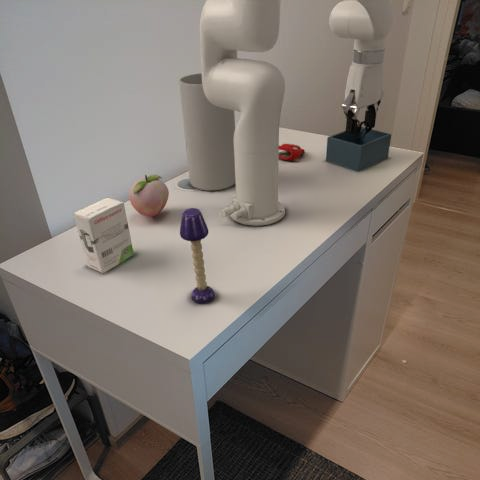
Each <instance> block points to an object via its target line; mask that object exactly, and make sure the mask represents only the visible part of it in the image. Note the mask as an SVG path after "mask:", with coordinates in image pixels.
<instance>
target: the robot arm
mask: <svg viewBox="0 0 480 480" xmlns="http://www.w3.org/2000/svg"><path fill="white" fill-rule="evenodd" d="M281 1H282V0H206V1H205V3H204V5H203V8H202V10H201V14H200V21H199V48H200V68H201V71H200V73H202V85H203V90H204V93H205V96H206V98H207V99H208V101H209V102H210V103H212V104H213V105H215V106H218V107H221V108H225V109H230V110H234V112H239V113H240V117H239V120H238V122H237V124H236V125H235V131H234V160H235V182H236V183H235V197H233V198H232V203H231V204H230V205H229V206H227V207H223V208H222V209H220V210H219V213H220V216H221V217H222V218H224V219H225V218H227V217H229V216H230V218H231V219H232V220H233V221H235V222H236V223H238V224H242V225H245V226H254V227H255V226H256V227H257V226H266V225H271V224H275V223H277V222H279V221H280V220H281V219H283V218H284V217H285V214H286V208H285V206H284V205H283V204H282V202H280V201H279V169H280V167H279V165H280V163H279V161H280V160H279V159H280V158H279V156H280V150H279V146H280V124H281V123H280V121H281V114H282V107H283V102H284V98H285V92H286V91H285V89H286V83H285V78H284V74H283V73H282V72H281V70H280V69H279V68H278V67H277V66H276V65H274V64H272V63H270V62H267V61H264V60H257V59H250V58H241V57H238V52H245V53H246V52H247V53H265V52H269V51H270V50H272V49H273V48H274V46H275V45H276V44H277V41H278V38H279V34H280V21H281V20H280V19H281ZM394 17H395V16H394V5H393V1H392V0H342V1H340V2H338V3H337V4H336V5H334V7H333V8H332V10H331V12H330V14H329V19H328V24H329V28H330V31H331V33H332V34H333V35H334V36H335V37H338V38H341V39H351V40H354V42H353V50H352V51H353V52H352V61H351V65H350V66H349V70H348V73H347V74H348V75H347V78H346V79H347V80H346V84H345V92H344V99H343V100H344V102H343V103H342V104H341V108H342V110H343V114H344V115H345V116H344V117H345V119H346V121H345V130H346V133H348V134H351V135H356V133H357V125H358V120H359V118H357V117H358V115H359V113H360V110H361V109H363V108H366V110H365V113H364V120H363V121H367V122H369V120H368V117H369V115H370V122H371V123H372V122H373V121H375V122H373V126H372V129H374V128H375V126H376V121H377V112H378V111H379V106H380V104H381V102H382V99H383V97H384V95H385V92H384V91H383V89H382V87H383V80H384V79H383V78H384V58H385V51H386V44H387V36H388V35H389V34H390V32H391V30H392V27H393V24H394ZM366 125H367V123H364V124H363V127H366ZM369 125H370V123H369Z"/></svg>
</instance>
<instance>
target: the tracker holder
mask: <svg viewBox="0 0 480 480" xmlns="http://www.w3.org/2000/svg"><path fill="white" fill-rule="evenodd" d="M279 151H284V152H285V151H286V152H289V153H290V155H289V156H288V157H286V156H283V155H279V159H280V160H284V161H290V162H293V161H294V162H295V161H296V160H297V159H299V157H300V156H301V155H302V154H305V149H304V148H301V146H299V145H298V144H294V143H282V144H281V145H279Z"/></svg>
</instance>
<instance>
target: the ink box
mask: <svg viewBox="0 0 480 480" xmlns="http://www.w3.org/2000/svg"><path fill="white" fill-rule="evenodd" d="M72 215H73V218H74V221H75V225H76V228H77V232H78V235H79V240H80V243H81V246H82V250H83V254H84V258H85V261H86V265H87V267H88V268H90V269H93V270H95V271H97V272H99V273H101V274H105V273H107V272H108V271H110V270H112V269H113V268H115V267H116V266H118V265H119V264H121V263H123V262H125V261H126V260H128V259H130V258H131V257H133V256H134V255H135V252H134V248H133V247H134V246H133V243H132V238H131V232H130V228H129V222H128V217H127V213H126V206H125V203H124V202H123V201H121V200H117V199H114V198H111V197H105V198H103V199H100V200H99V201H96V202H94V203H91V204H90V205H89V206H86V207H84V208H81V209H79V210H76V211H75V212H73V213H72Z"/></svg>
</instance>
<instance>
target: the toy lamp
mask: <svg viewBox="0 0 480 480" xmlns="http://www.w3.org/2000/svg"><path fill="white" fill-rule="evenodd" d="M180 218H181V219H180V227H179V228H180V229H179V236H180V238H181V239H182V240H184V241H187V242H190V248H191V251H192V253H191V255H192V259H193V266H194V269H193V270H194V274H195V282H196V287H195V288H194V289H193V290H192V291H191V301H192V302H194V303H196V304H199V305H201V304H202V305H203V304H204V305H205V304H208V303H211V302H212V301H214V299H215V298H216V293H215V291H214V289H213V288H212V287H211V286H209V285H208V283H207V281H206V280H207V276H206V268H205V260H204V253H203V245H202V240H204V239H205V238H206V237H208V234H209V228H208V225H207V222H206V221H205V218H204V215H203V213H202V211H201V210H200V209H198V208H196V207H191V208H186V209H184V210H183V211H182V213H181V217H180Z"/></svg>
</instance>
